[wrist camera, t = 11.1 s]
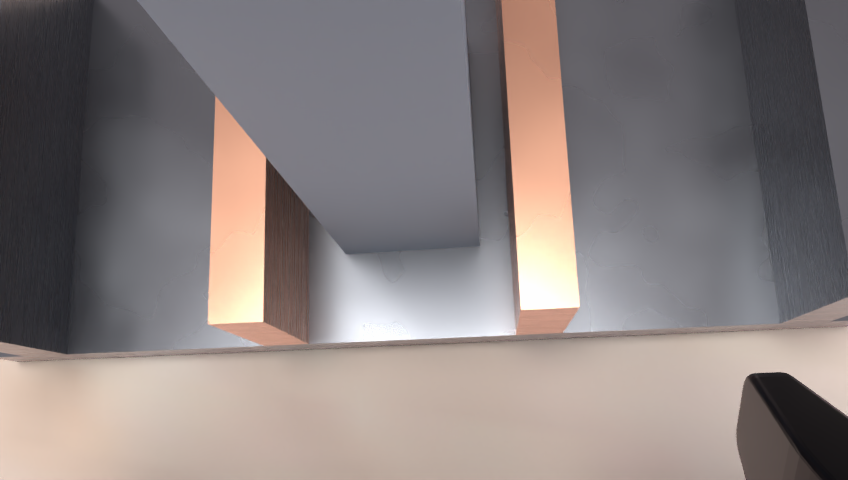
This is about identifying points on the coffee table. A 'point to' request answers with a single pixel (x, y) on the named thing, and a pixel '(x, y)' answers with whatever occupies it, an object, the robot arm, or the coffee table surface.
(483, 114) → the rack
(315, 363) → the coffee table surface
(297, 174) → the blue-gray rectangular block
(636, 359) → the coffee table surface
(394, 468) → the coffee table surface
